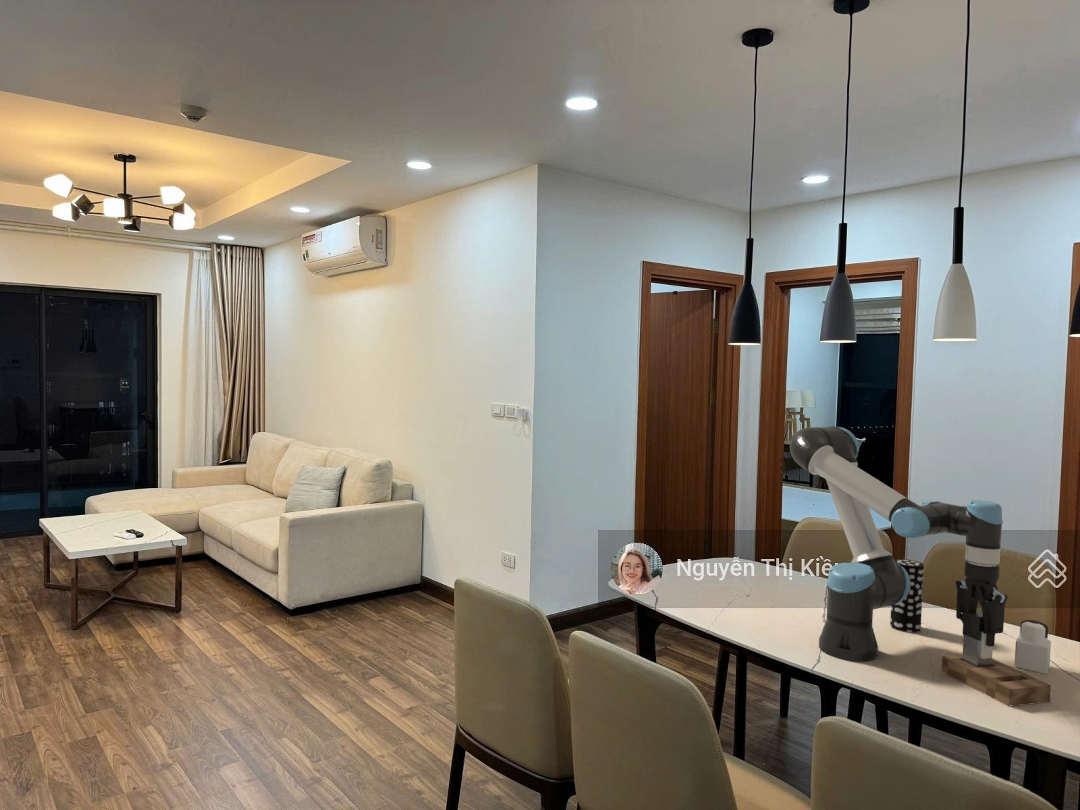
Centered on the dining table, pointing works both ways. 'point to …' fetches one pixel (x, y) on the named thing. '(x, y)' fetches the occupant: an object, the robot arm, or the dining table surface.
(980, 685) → the wooden compartment tray
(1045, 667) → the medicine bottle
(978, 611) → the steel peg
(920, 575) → the spotted tube
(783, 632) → the dining table surface
